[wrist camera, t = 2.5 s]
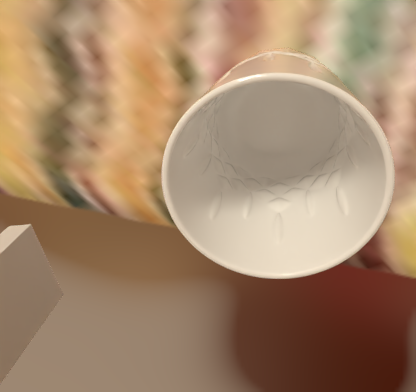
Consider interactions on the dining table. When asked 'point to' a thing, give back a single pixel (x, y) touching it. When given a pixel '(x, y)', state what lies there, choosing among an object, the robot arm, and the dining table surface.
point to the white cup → (278, 169)
